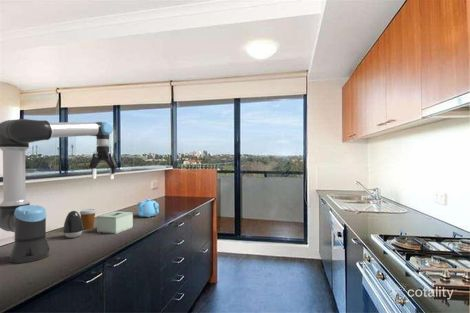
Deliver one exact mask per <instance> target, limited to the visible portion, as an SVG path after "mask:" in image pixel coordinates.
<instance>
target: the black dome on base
mask: <svg viewBox="0 0 470 313" xmlns="http://www.w3.org/2000/svg"><path fill="white" fill-rule="evenodd" d="M62 228H63V229H62V233H63V234H64V236H65V237H66V238H68V239H75V238H78V237H79V236H81V235H82V233H83V230H84V229H83V224H82V220H81V215H80V212H78V211H76V210H71V211H69V212H68V214H67V215H66V217H65V219H64V223H63V227H62Z"/></svg>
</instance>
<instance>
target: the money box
mask: <svg viewBox="0 0 470 313" xmlns="http://www.w3.org/2000/svg"><path fill="white" fill-rule="evenodd" d="M133 214H134V213H133V212H132V211H131V212H130V211H119V210H118V211H116V210H115V211H111V212H108V213H104V214H100V215H97V216H96V232H97V233H101V232H102V233H103V234H112V233H113V235H116V234H119V233H122V232H124V231H126V230H130V229H132V228H134V226H133V224H134V223H133V221H134V217H133V216H134V215H133ZM102 233H101V234H102Z"/></svg>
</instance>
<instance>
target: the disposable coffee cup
mask: <svg viewBox="0 0 470 313" xmlns="http://www.w3.org/2000/svg"><path fill="white" fill-rule="evenodd" d="M96 212H97V211H96V209H95V208H84V209H81V210H80V211H79V215H80V217H81V220H82V224H83V230H86V231H87V230H92V229H94V225H95V217H96Z"/></svg>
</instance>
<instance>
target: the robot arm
mask: <svg viewBox="0 0 470 313" xmlns="http://www.w3.org/2000/svg"><path fill="white" fill-rule="evenodd" d="M113 131H114V127H113V125H112V123H111V122H109V121H88V122H85V121H83V122H81V121H80V122H79V121H78V122H74V121H73V122H69V121H68V122H67V121H66V122H61V121H60V122H50V121H48V120H40V119H39V120H37V119H30V118H29V119H27V118H18V119H8V120H7V119H6V120H4V121H1V122H0V150H1V151H2V186H3V187H2V192H3V194H2V195H3V196H2V198H3V201H2V202H0V229H1V230H3V231H5V232H13V233H14V243H13V247H12V249H11V252H10V254H9V262H10V263H12V264H21V263H22V264H23V263H25V264H26V263H30V262H35V261H40V260H43V259H44V258H48V257H49V256H50V255H51V249H50V246H49V243H48V241H47V239H46V234H47V233H46V231H47V230H46V229H47V226H46V224H47V222H46V221H47V220H46V218H47V213H46V208H45V207H43V206H41V205H34V204H30V201H29V200H27V196H26V195H27V193H26V189H27V188H26V187H27V186H26V184H27V183H26V151H27V150H28V149H29V148H30V143H36V142H41V141H49V140H51V139H52V138H70V137H73V138H74V137H87V136H88V137H96V138H95V139H96V147H95V148H96V149H95V150H96V153H92V158H91V160H90V163H89V164H88V168H90V169H91V174H92V175H91V176H92V177H91V178H92V180H95V179H97V167H98V165H99V164H100V162H102V161H105V162H106V164H107V165H108V166H109V180H115V179H114V178H115V177H114V176H115V172H116V170H115V169H117V168H118V165H117V162H116V160H115V158H114V153H113V152H112V153H109V152H110V135H111V134H112V133H113Z"/></svg>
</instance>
